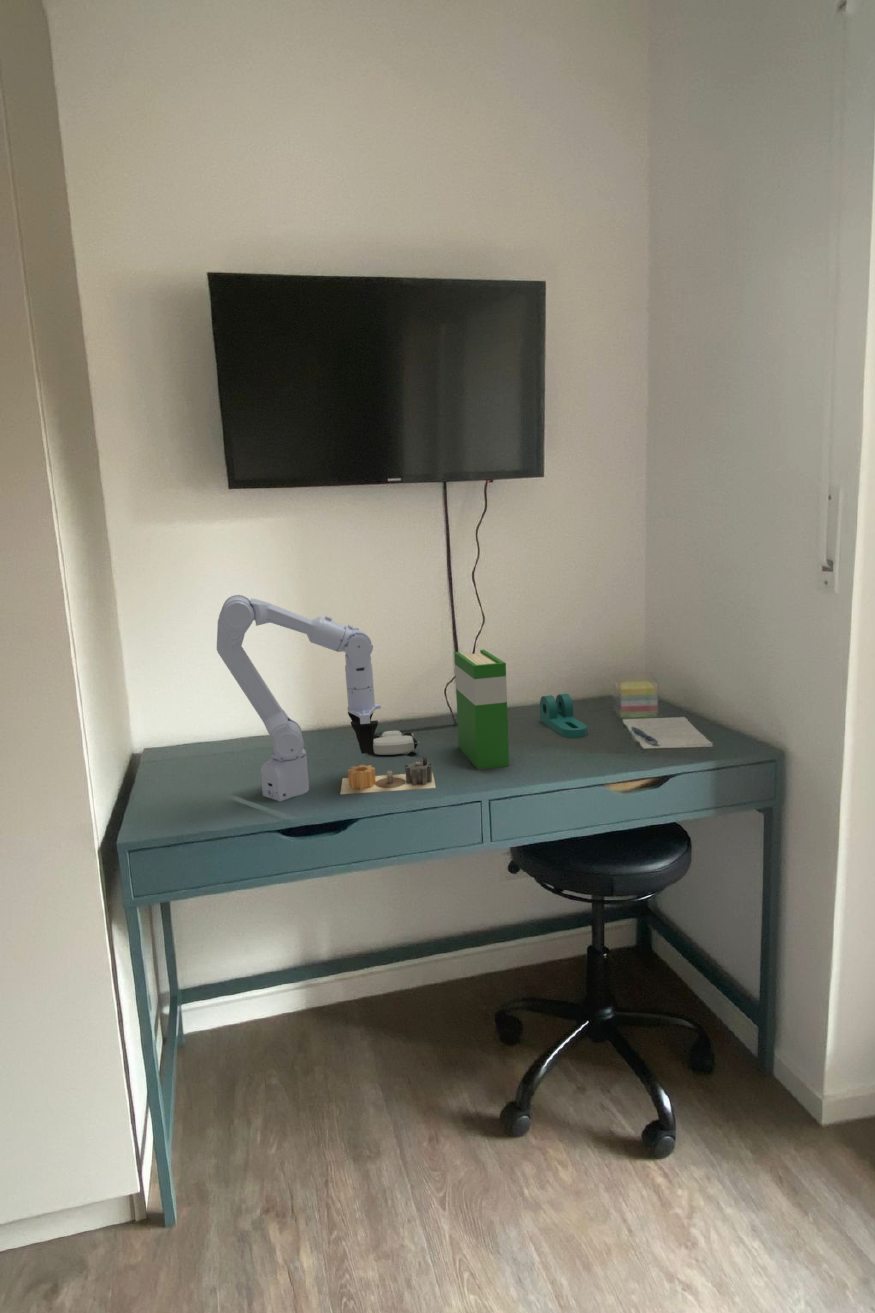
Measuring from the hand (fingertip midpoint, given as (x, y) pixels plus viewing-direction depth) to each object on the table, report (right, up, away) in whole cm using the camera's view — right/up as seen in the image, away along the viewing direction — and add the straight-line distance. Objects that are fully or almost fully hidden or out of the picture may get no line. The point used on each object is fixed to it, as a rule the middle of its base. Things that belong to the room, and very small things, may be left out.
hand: (364, 747), depth 176 cm
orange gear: (0, -8, 0) cm, 8 cm away
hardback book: (+27, -4, +18) cm, 32 cm away
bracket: (+49, 0, +37) cm, 62 cm away
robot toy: (+5, -4, +25) cm, 26 cm away
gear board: (+5, -9, 0) cm, 10 cm away
